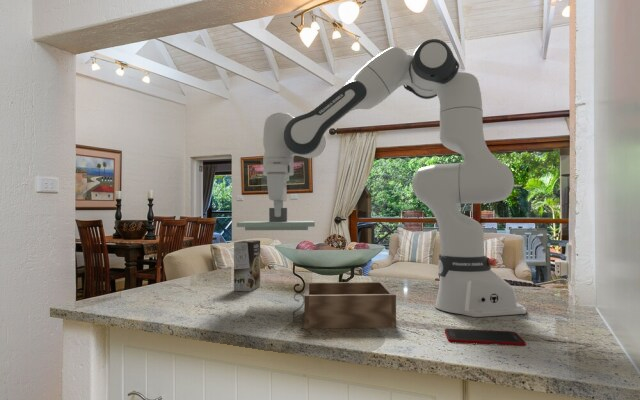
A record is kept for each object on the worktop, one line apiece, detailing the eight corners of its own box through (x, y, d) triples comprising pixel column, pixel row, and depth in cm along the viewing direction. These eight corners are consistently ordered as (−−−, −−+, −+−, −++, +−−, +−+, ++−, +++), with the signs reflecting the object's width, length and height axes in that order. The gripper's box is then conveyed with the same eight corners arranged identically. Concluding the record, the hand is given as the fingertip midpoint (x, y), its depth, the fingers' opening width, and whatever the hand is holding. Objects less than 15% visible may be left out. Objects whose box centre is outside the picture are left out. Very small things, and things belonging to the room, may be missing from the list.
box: (383, 313, 106) (383, 281, 106) (396, 331, 90) (395, 294, 90) (305, 313, 105) (305, 282, 105) (304, 332, 89) (304, 295, 89)
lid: (314, 227, 128) (314, 208, 128) (314, 230, 111) (314, 207, 111) (246, 228, 128) (246, 208, 128) (236, 230, 111) (236, 207, 111)
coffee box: (251, 291, 134) (251, 242, 134) (233, 291, 135) (233, 241, 135) (261, 286, 143) (261, 239, 143) (243, 285, 144) (243, 239, 144)
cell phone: (443, 332, 90) (443, 328, 90) (515, 336, 88) (515, 331, 88) (448, 344, 83) (448, 339, 83) (527, 348, 80) (527, 343, 80)
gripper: (271, 172, 130) (271, 216, 130) (263, 165, 110) (263, 217, 110) (291, 172, 131) (291, 216, 130) (287, 165, 110) (287, 217, 110)
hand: (278, 216), depth 120 cm, fingers closed on lid, 2 cm apart
